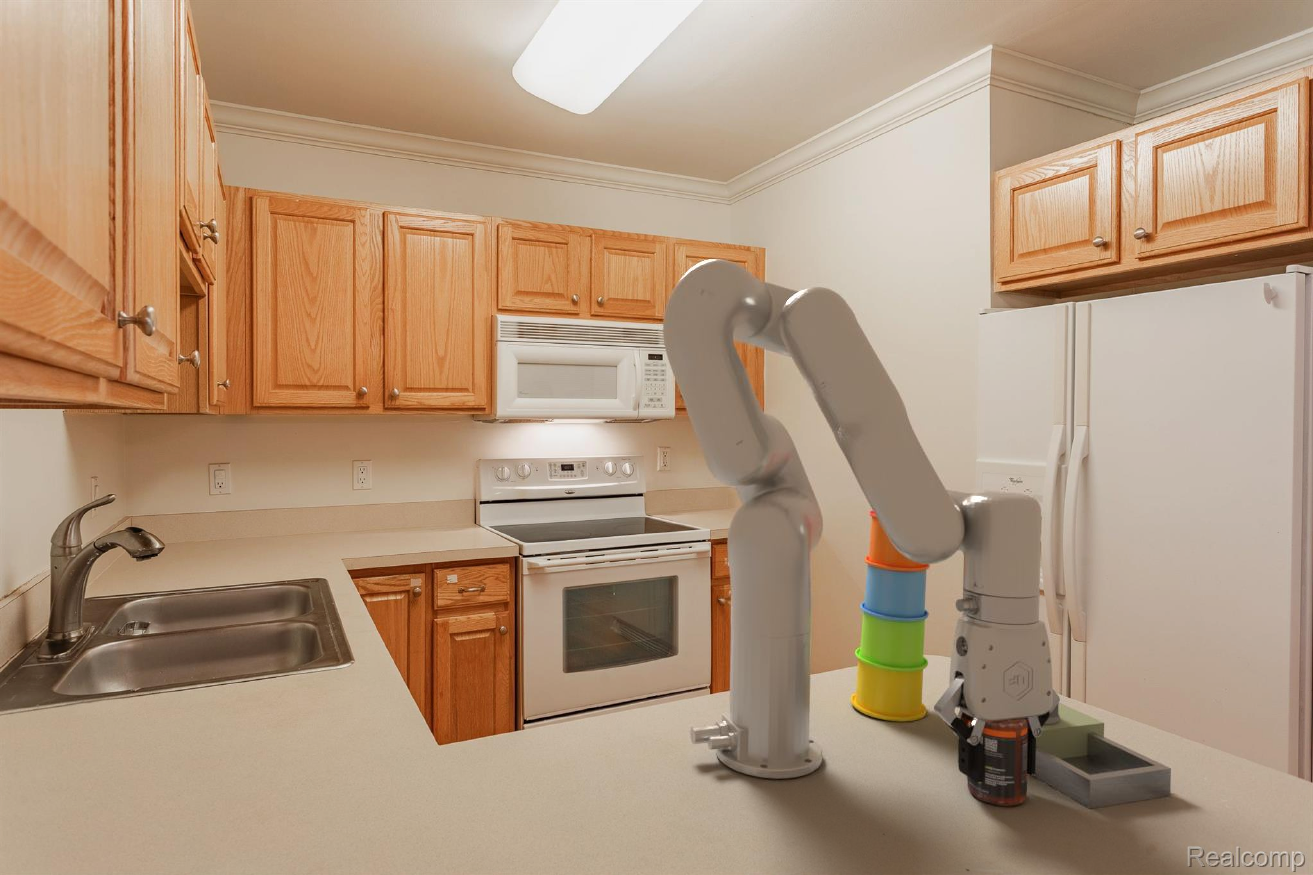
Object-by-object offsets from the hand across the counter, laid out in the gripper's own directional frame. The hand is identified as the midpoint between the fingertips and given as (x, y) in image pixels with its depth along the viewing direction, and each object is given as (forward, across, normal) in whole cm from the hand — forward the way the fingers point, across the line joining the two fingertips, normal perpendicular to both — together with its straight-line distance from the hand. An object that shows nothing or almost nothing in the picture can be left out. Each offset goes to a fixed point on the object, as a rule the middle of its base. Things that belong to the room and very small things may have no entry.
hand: (996, 771), depth 82 cm
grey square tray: (+3, +13, 0) cm, 13 cm away
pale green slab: (+3, +13, +9) cm, 16 cm away
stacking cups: (+3, +3, +25) cm, 25 cm away
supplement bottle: (+3, 0, 0) cm, 3 cm away
